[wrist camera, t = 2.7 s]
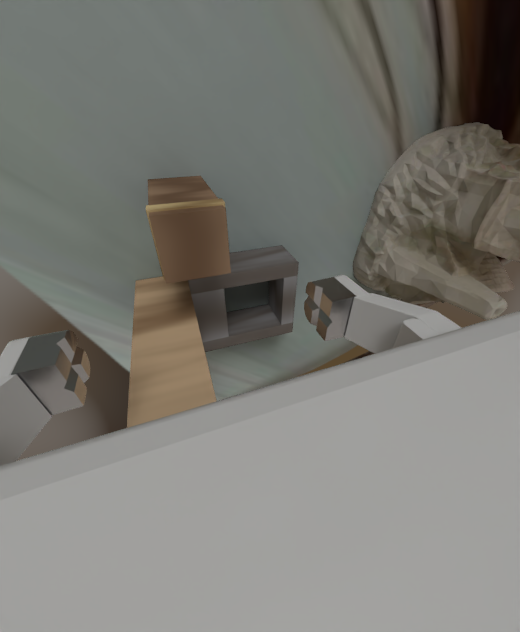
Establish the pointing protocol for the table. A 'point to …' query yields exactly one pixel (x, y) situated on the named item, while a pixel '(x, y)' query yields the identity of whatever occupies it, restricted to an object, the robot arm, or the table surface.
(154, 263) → the table surface
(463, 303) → the ceramic cottage
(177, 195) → the small wooden block
